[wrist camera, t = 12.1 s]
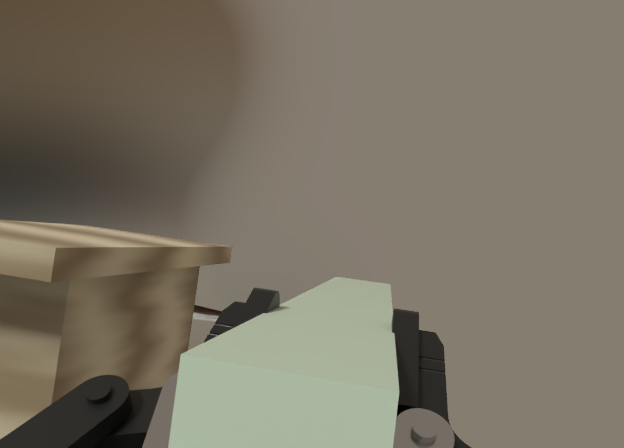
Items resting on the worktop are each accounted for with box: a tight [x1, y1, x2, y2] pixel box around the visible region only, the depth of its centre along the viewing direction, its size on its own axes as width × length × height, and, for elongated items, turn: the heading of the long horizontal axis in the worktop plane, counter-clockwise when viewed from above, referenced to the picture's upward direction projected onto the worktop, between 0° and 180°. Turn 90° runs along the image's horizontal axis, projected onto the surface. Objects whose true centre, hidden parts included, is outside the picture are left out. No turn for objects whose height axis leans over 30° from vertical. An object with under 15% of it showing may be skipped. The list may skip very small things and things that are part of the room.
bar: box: [168, 277, 399, 448], centre depth 19 cm, size 24×4×4 cm, turn 171°
